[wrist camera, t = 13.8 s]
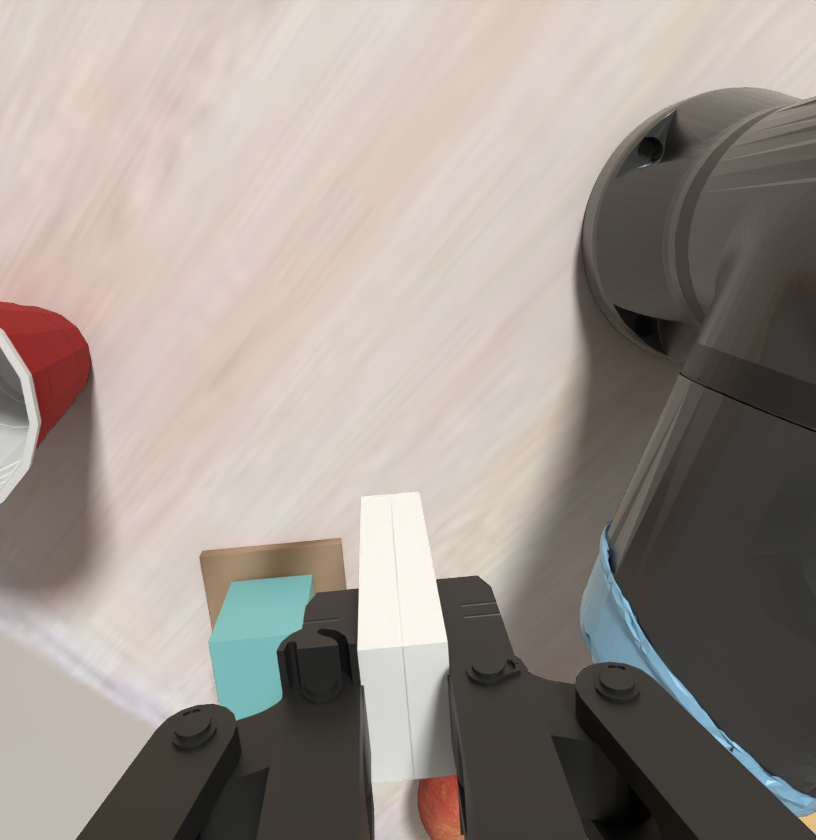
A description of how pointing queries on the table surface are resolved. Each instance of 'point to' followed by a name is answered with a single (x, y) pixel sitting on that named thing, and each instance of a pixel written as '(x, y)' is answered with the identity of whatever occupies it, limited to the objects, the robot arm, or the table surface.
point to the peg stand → (271, 567)
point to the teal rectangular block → (255, 640)
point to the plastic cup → (35, 382)
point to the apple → (440, 807)
